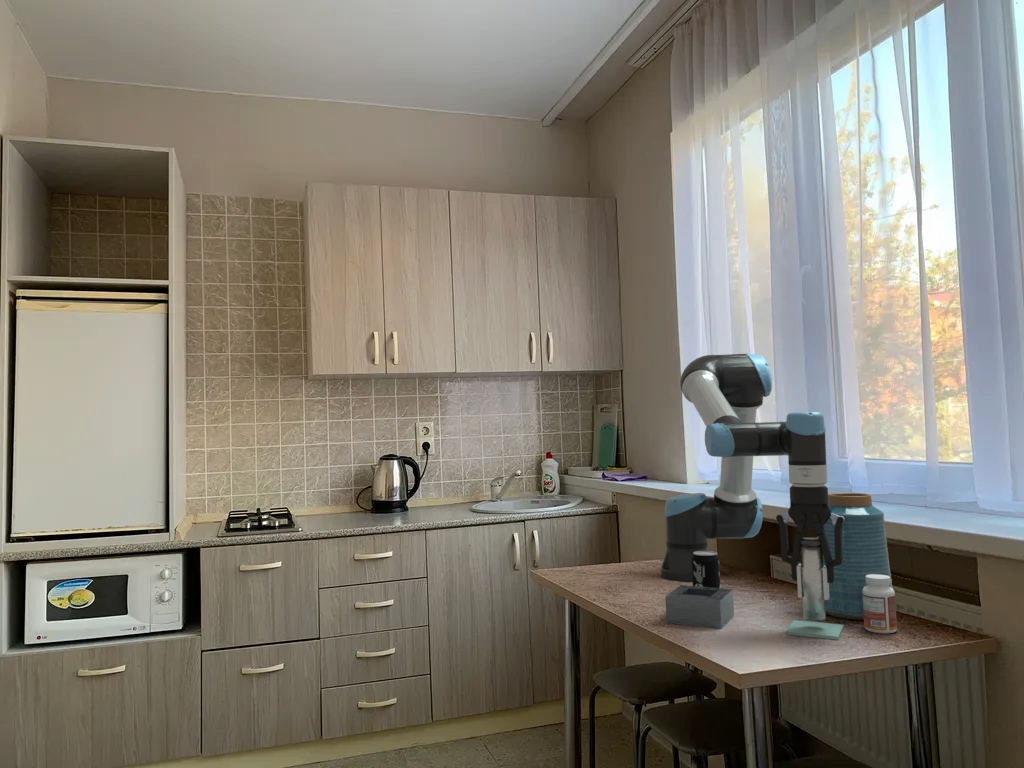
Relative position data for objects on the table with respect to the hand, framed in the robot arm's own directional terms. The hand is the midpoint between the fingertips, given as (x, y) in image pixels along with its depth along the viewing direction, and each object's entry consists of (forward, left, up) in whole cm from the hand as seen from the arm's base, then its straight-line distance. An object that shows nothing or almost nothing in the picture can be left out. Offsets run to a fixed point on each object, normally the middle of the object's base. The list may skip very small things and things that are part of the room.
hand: (813, 597), depth 159 cm
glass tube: (0, 0, -4) cm, 4 cm away
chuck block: (0, -24, -7) cm, 25 cm away
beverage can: (-17, -27, -7) cm, 33 cm away
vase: (-20, +6, -7) cm, 22 cm away
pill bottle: (-6, +12, -7) cm, 15 cm away
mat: (0, 0, -7) cm, 7 cm away
